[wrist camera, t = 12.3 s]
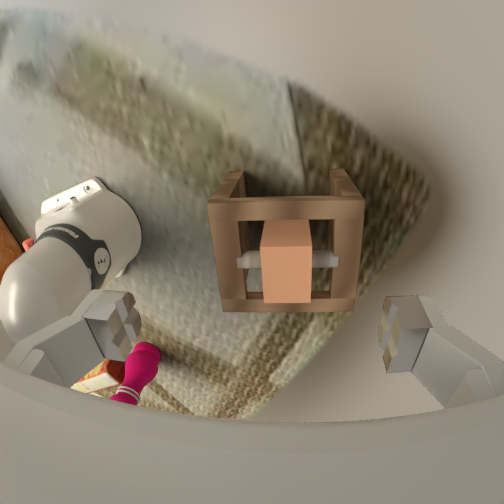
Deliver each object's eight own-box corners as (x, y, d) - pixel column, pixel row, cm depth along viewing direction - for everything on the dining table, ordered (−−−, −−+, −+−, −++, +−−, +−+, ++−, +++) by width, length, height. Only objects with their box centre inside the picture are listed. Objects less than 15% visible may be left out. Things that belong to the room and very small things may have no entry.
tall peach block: (268, 264, 40) (264, 303, 33) (265, 215, 37) (259, 247, 30) (307, 264, 40) (310, 302, 33) (307, 214, 36) (312, 246, 29)
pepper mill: (168, 362, 65) (140, 436, 48) (142, 362, 67) (111, 430, 49) (155, 339, 62) (121, 415, 45) (128, 340, 63) (91, 410, 46)
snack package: (92, 382, 76) (83, 398, 70) (76, 367, 74) (66, 384, 68) (133, 367, 69) (123, 387, 63) (114, 350, 66) (102, 370, 61)
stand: (238, 257, 50) (222, 313, 38) (229, 171, 43) (206, 204, 31) (339, 256, 48) (353, 312, 36) (343, 168, 41) (365, 201, 29)
